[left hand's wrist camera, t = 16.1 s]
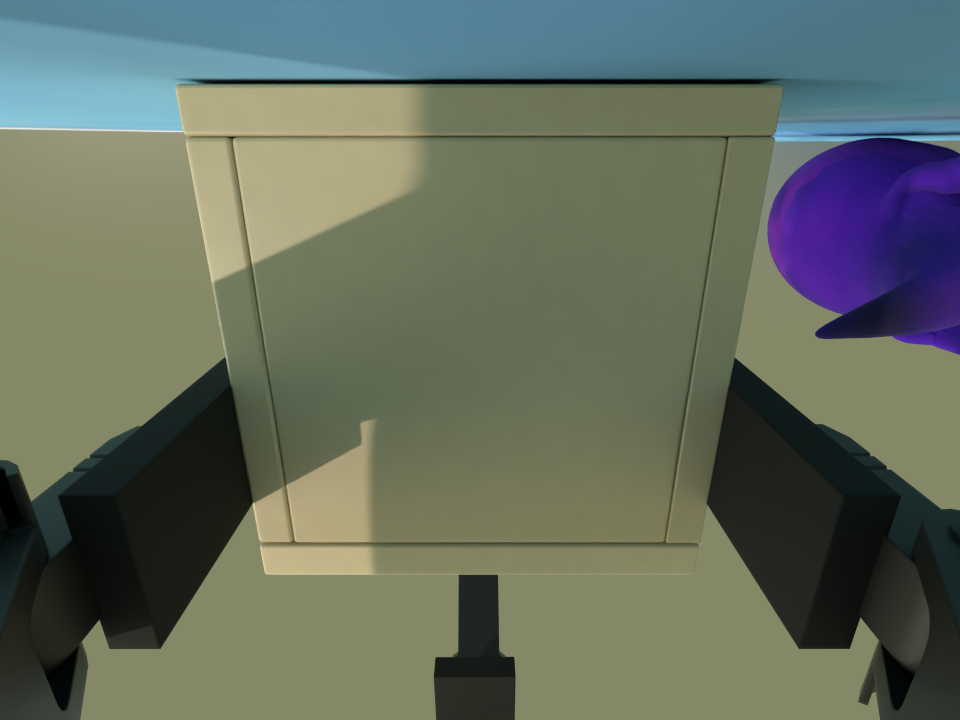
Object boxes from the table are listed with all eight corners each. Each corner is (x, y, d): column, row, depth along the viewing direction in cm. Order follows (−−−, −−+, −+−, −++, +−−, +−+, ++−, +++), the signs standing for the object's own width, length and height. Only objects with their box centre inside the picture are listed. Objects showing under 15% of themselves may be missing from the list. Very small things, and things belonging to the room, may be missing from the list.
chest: (605, 120, 20) (588, 341, 24) (353, 120, 20) (371, 341, 24) (787, 83, 8) (700, 544, 12) (172, 83, 8) (258, 543, 12)
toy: (1208, 136, 27) (920, 106, 51) (815, 217, 32) (720, 155, 56) (1135, 401, 34) (910, 264, 58) (818, 435, 39) (731, 296, 62)
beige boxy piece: (584, 335, 25) (573, 488, 28) (374, 335, 25) (386, 488, 28) (700, 545, 12) (655, 788, 15) (258, 546, 12) (303, 788, 15)
